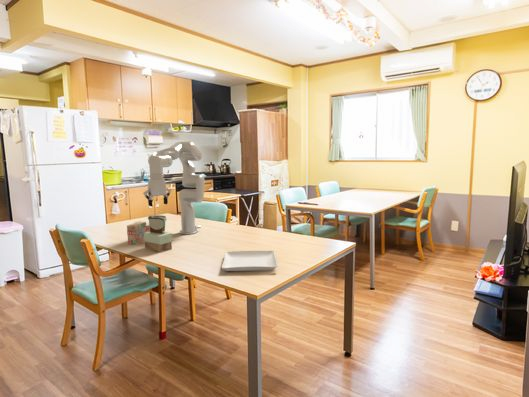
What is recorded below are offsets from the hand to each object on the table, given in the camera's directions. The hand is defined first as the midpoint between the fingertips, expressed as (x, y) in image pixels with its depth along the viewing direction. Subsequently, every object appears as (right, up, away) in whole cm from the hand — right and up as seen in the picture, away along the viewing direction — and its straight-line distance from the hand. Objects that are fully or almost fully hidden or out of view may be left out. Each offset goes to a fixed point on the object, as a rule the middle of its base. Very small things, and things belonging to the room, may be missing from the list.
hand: (158, 205), depth 203 cm
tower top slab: (0, -22, +1) cm, 22 cm away
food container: (0, -17, +2) cm, 17 cm away
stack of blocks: (-18, -24, +22) cm, 37 cm away
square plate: (+56, -31, -27) cm, 70 cm away
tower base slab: (-1, -27, +2) cm, 27 cm away
